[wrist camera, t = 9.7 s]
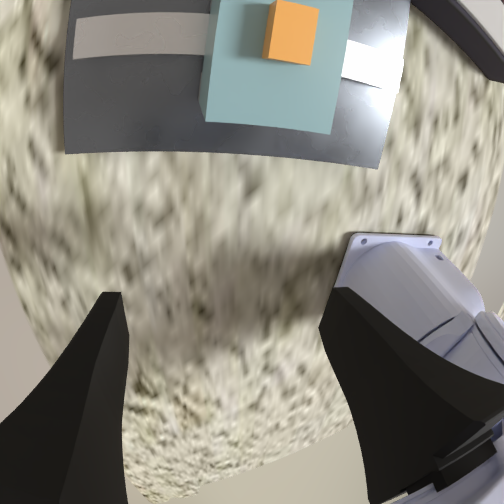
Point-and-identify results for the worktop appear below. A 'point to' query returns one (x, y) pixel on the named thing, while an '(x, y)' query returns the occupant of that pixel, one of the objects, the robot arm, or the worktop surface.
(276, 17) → the block
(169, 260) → the worktop surface
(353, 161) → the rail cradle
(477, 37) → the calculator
